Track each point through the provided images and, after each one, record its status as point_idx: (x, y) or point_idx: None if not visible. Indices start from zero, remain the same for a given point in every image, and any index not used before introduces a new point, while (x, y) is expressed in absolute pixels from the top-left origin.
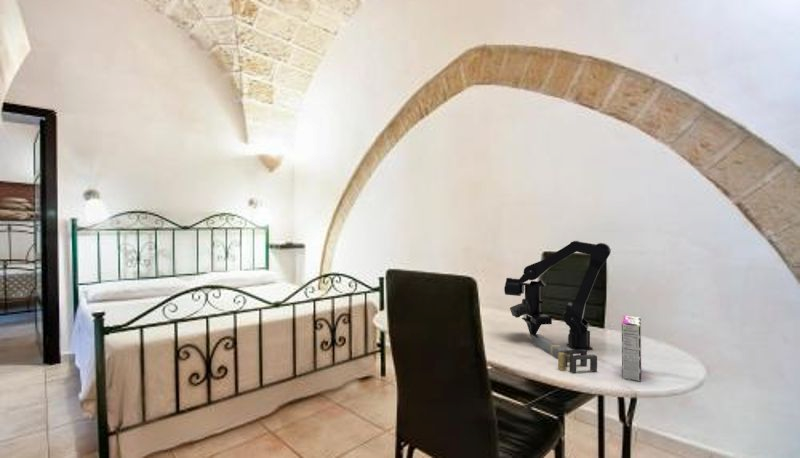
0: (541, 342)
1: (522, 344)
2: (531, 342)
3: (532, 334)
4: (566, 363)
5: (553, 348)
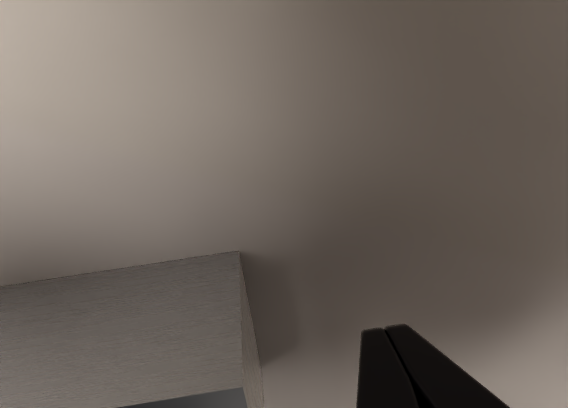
0: None
1: (86, 20)
2: (236, 254)
3: (234, 406)
4: None
5: None
